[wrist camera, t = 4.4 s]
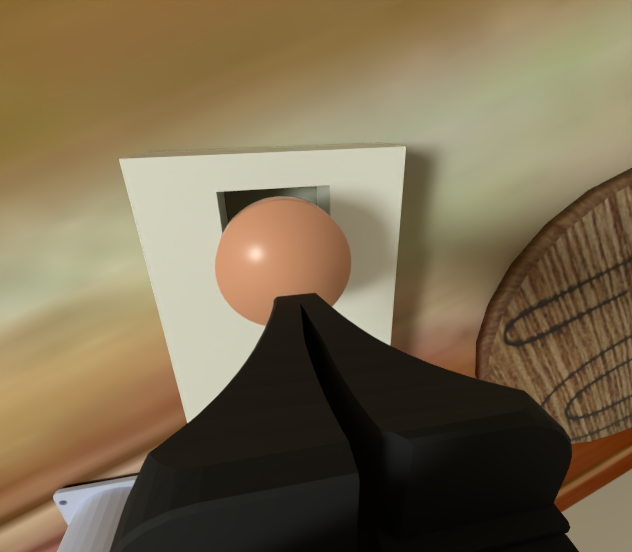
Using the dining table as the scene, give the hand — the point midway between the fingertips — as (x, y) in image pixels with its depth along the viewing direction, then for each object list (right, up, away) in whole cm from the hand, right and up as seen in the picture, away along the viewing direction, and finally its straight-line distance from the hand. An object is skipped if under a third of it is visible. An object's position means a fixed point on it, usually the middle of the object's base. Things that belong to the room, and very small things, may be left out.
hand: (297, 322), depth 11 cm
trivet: (+25, -2, +17) cm, 30 cm away
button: (-1, +3, +5) cm, 6 cm away
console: (-2, -1, +11) cm, 11 cm away
